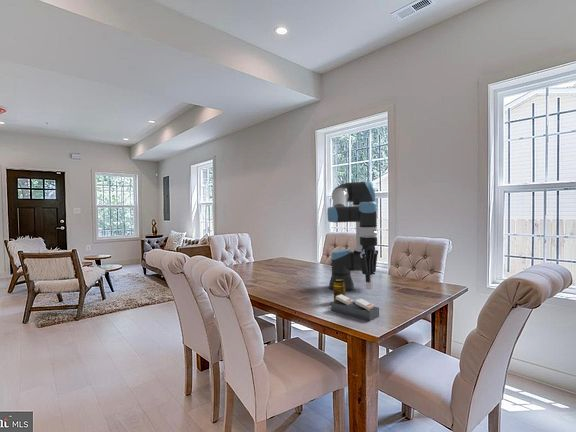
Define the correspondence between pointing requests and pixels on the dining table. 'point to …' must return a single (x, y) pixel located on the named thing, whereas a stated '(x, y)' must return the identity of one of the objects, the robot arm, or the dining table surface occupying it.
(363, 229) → the robot arm
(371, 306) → the block
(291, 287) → the dining table surface
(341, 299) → the rocker
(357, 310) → the power strip
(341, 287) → the condiment
